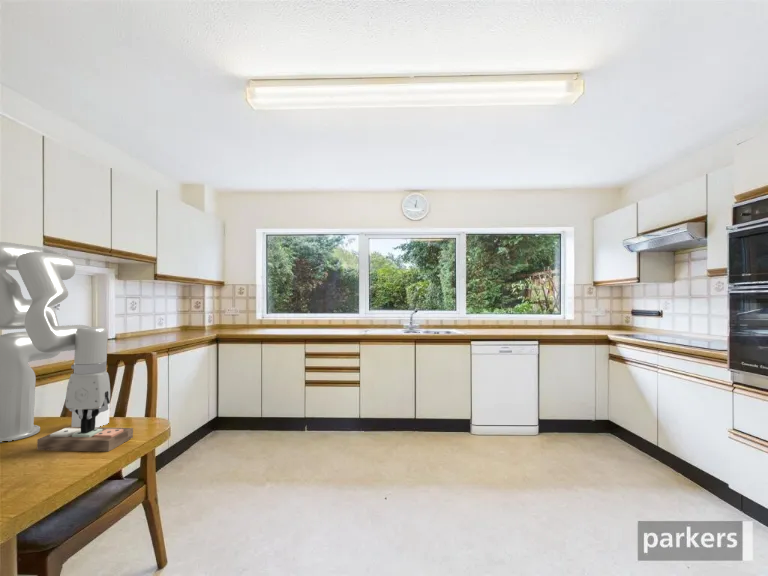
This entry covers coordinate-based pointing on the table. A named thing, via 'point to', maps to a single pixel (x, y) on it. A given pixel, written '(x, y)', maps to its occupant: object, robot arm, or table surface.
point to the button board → (84, 442)
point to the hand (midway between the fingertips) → (87, 431)
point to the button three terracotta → (109, 433)
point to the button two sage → (87, 433)
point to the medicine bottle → (99, 421)
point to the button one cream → (65, 432)
